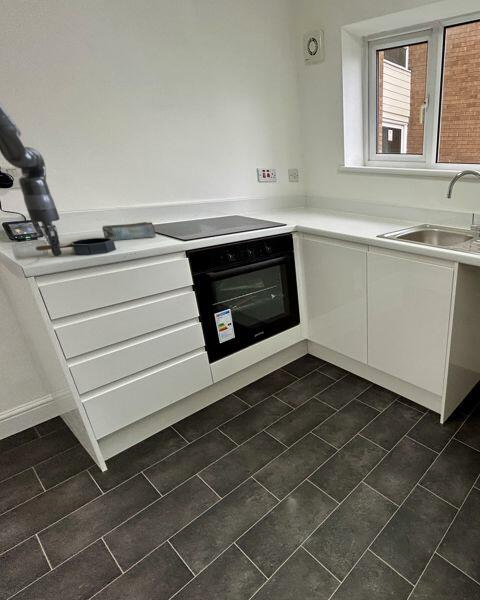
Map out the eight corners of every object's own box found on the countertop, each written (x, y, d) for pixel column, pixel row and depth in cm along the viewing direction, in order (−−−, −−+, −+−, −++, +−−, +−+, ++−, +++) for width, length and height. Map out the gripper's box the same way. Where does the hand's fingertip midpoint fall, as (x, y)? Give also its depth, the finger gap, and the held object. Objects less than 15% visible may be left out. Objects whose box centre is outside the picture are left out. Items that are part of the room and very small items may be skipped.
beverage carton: (105, 238, 161) (101, 223, 159) (155, 234, 172) (152, 221, 170) (105, 241, 155) (101, 226, 153) (157, 237, 166) (153, 223, 164)
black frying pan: (41, 261, 124) (37, 249, 122) (36, 255, 131) (32, 243, 130) (118, 251, 140) (116, 240, 138) (110, 246, 147) (107, 235, 146)
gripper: (24, 206, 126) (40, 253, 132) (29, 210, 118) (46, 259, 124) (52, 204, 132) (67, 249, 138) (59, 208, 123) (74, 256, 130)
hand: (57, 254), depth 131 cm, fingers closed on black frying pan
